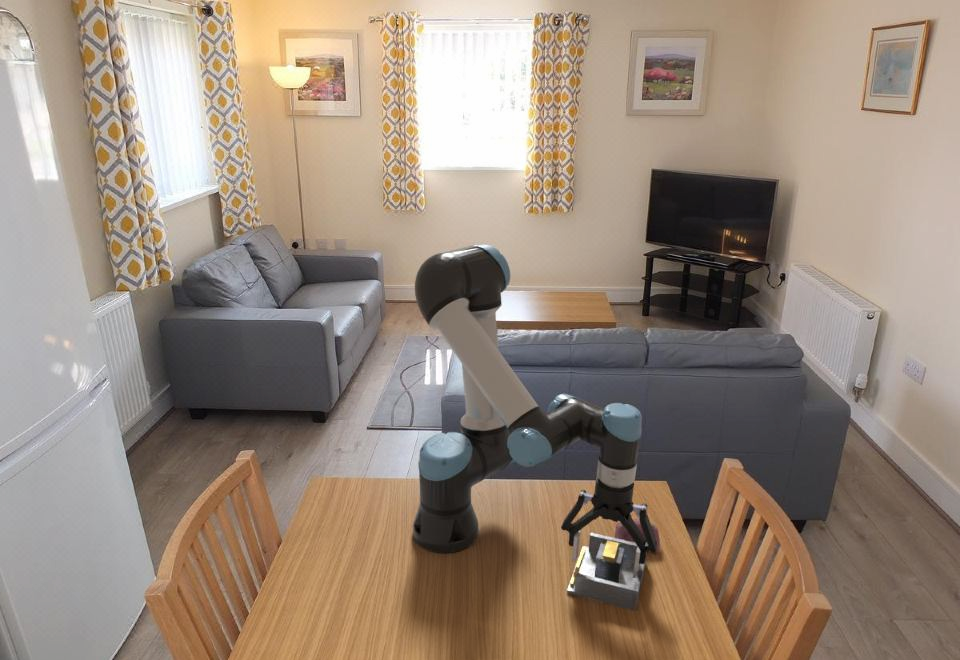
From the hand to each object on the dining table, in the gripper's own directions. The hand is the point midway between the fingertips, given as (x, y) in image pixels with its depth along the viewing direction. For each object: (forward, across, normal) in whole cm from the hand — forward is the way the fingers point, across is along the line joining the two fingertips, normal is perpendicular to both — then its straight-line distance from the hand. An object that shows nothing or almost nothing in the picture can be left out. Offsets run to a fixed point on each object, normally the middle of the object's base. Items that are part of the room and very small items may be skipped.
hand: (604, 566), depth 145 cm
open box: (+3, +1, 0) cm, 3 cm away
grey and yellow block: (+2, +1, 0) cm, 2 cm away
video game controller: (+3, +5, +13) cm, 14 cm away
